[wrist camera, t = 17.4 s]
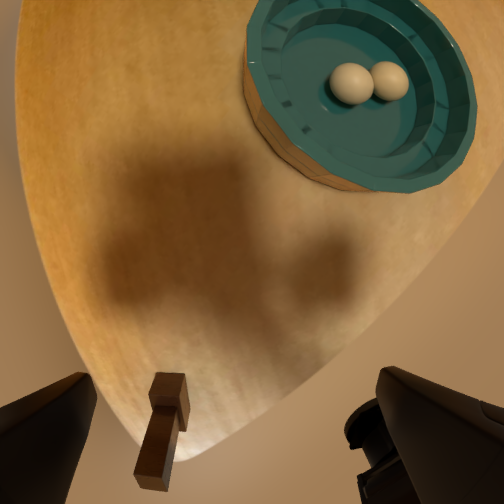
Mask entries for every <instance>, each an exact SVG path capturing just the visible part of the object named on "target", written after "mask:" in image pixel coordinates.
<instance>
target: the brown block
mask: <svg viewBox="0 0 504 504" xmlns="http://www.w3.org/2000/svg"><path fill="white" fill-rule="evenodd" d="M148 395H149V399H150V403H151V407H152V410H153V412H152V415H151V418H150V421H149V424H148V428H147V431H146V434H145V437H144V440H143V443H142V447H141V450H140V453H139V457H138V460H137V463H136V466H135V470H134V477H135V478H136V480H137V482H138V484H139V486H140V488H143V489H149V490H156V491H164V492H168V487H169V481H170V476H171V470H172V464H173V459H174V454H175V449H176V443H177V438H178V433H179V431H182V432H186V430H187V425H188V419H189V413H190V405H189V399H188V393H187V386H186V380H185V374H174V373H156V375H155V378H154V381H153V383H152V386H151V388H150V391H149V394H148Z"/></svg>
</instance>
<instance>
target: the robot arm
mask: <svg viewBox="0 0 504 504" xmlns="http://www.w3.org/2000/svg"><path fill="white" fill-rule="evenodd" d="M376 397H377V399H378V402H379V405H380V408H376V409H372V410H367V411H363V412H361V413H359V415H358V418H357V422H356V425H355V429H354V432H353V435H352V439H351V442H350V445H349V448H350V450H354V449H359V448H362V449H363V451H364V453H365V455H366V457H367V459H368V461H369V464H370V466H371V469H369V470H367V471H366V472H364V473H361V474H359V475H357V479H358V482H357V483H358V488H359V492H360V497H361V502H362V504H504V408H501V407H498V406H495V405H492V404H489V403H486V402H483V401H479V400H478V399H475V398H473V397H470V396H467V395H465V394H462V393H459V392H457V391H454V390H452V389H449V388H446V387H444V386H441V385H439V384H436V383H434V382H431V381H429V380H426V379H424V378H422V377H419V376H417V375H414V374H412V373H409V372H407V371H405V370H402V369H400V368H397V367H395V366H389V367H384V368H382V369H381V370H380V373H379V378H378V382H377V385H376ZM96 402H97V393H96V390H95V387H94V384H93V381H92V378H91V376H90V375H89V374H88V373H83V372H76V373H74V374H72V375H70V376H68V377H66V378H64V379H61V380H59V381H57V382H55V383H53V384H51V385H49V386H47V387H45V388H42V389H40V390H38V391H36V392H34V393H32V394H30V395H27V396H25V397H23V398H21V399H18V400H16V401H14V402H12V403H10V404H7V405H5V406H3V407H1V408H0V504H65V502H66V498H67V495H68V492H69V488H70V485H71V482H72V479H73V476H74V473H75V470H76V467H77V465H78V462H79V459H80V456H81V453H82V450H83V448H84V445H85V442H86V439H87V436H88V433H89V429H90V425H91V421H92V417H93V413H94V409H95V406H96Z"/></svg>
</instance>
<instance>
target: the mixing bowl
mask: <svg viewBox="0 0 504 504" xmlns="http://www.w3.org/2000/svg"><path fill="white" fill-rule="evenodd" d="M383 61H388V62H392V63H395V64H397V65H398V66H400V67H401V68H402V69H403V70H404V71H405V73H406V75H407V77H408V81H409V87H408V91H407V93H406V94H405V95H404V96H403V97H402V98H401V99H399V100H396V101H387V100H383V99H381V98H379V97H378V96H376V95H375V94H374V93H372V95H371V97H370V98H369V99H368V100H367V101H365V102H364V103H361V104H358V105H350V104H346V103H344V102H342V101H340V100H339V99H338V98H336V97H335V95H334V94H333V92H332V90H331V88H330V76H331V73H332V72H333V70H334V69H335V68H336V67H337V66H339V65H341V64H344V63H355V64H358V65H361V66H362V67H364V68H365V69H366V70H367V71H368V72H369V71H370V69H371V68H372V67H373V66H374V65H375V64H377V63H379V62H383ZM244 95H245V98H246V100H247V103H248V106H249V109H250V111H251V114H252V117H253V120H254V123H255V125H256V127H257V128H258V129H259V130H260V132H261V133H262V134H263V136H264V137H265V138H266V140H267V141H268V142H269V144H270V145H271V146H272V147H273V149H274V150H275V152H276V153H277V154H279V156H280V157H282V158H283V159H284V160H286V161H287V162H288V163H290V164H291V165H292V166H294V167H295V168H296V169H298V170H299V171H300V172H302V173H303V174H304V175H306V176H307V177H309V178H310V179H313V180H316V181H319V182H321V183H324V184H327V185H329V186H332V187H334V188H337V189H339V190H347V191H366V192H387V193H406V194H409V193H414V192H417V191H420V190H423V189H426V188H429V187H432V186H435V185H438V184H440V183H442V182H443V181H444V180H445V179H446V178H447V177H448V176H450V175H451V174H452V173H453V172H454V171H455V170H456V169H457V168H458V167H459V166H460V165H461V164H462V163H463V161H464V159H465V157H466V155H467V153H468V150H469V148H470V146H471V144H472V142H473V140H474V135H475V127H476V118H477V101H476V95H475V89H474V83H473V78H472V75H471V72H470V70H469V68H468V65H467V63H466V61H465V58H464V56H463V54H462V52H461V50H460V47H459V46H458V44H457V43H456V41H455V40H454V38H453V37H452V36H451V34H450V33H449V32H448V30H447V29H446V28H445V26H444V25H443V24H442V22H441V21H440V20H439V19H438V18H437V17H436V16H435V15H434V14H433V13H432V12H431V11H430V10H429V9H427V8H426V7H425V6H424V5H423V4H422V3H421V2H419V1H418V0H259V1H258V3H257V5H256V8H255V10H254V12H253V14H252V16H251V18H250V20H249V23H248V25H247V28H246V40H245V51H244Z"/></svg>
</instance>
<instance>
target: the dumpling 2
mask: <svg viewBox="0 0 504 504" xmlns="http://www.w3.org/2000/svg"><path fill="white" fill-rule="evenodd" d="M369 73H370V74H371V76H372V79H373V82H374V90H373V93H374V94H375V95H376V96H378V97H379V98H381V99H383V100H387V101H396V100H399V99H401V98H402V97H403V96H404V95H405V94H406V93H407V91H408V87H409V81H408V77H407V75H406V73H405V71H404V70H403V69H402V68H401V67H400V66H398V65H397V64H395V63H392V62H388V61H383V62H379V63H377V64H375V65H374V66H373V67H372V68H371V69H370V71H369Z"/></svg>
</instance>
